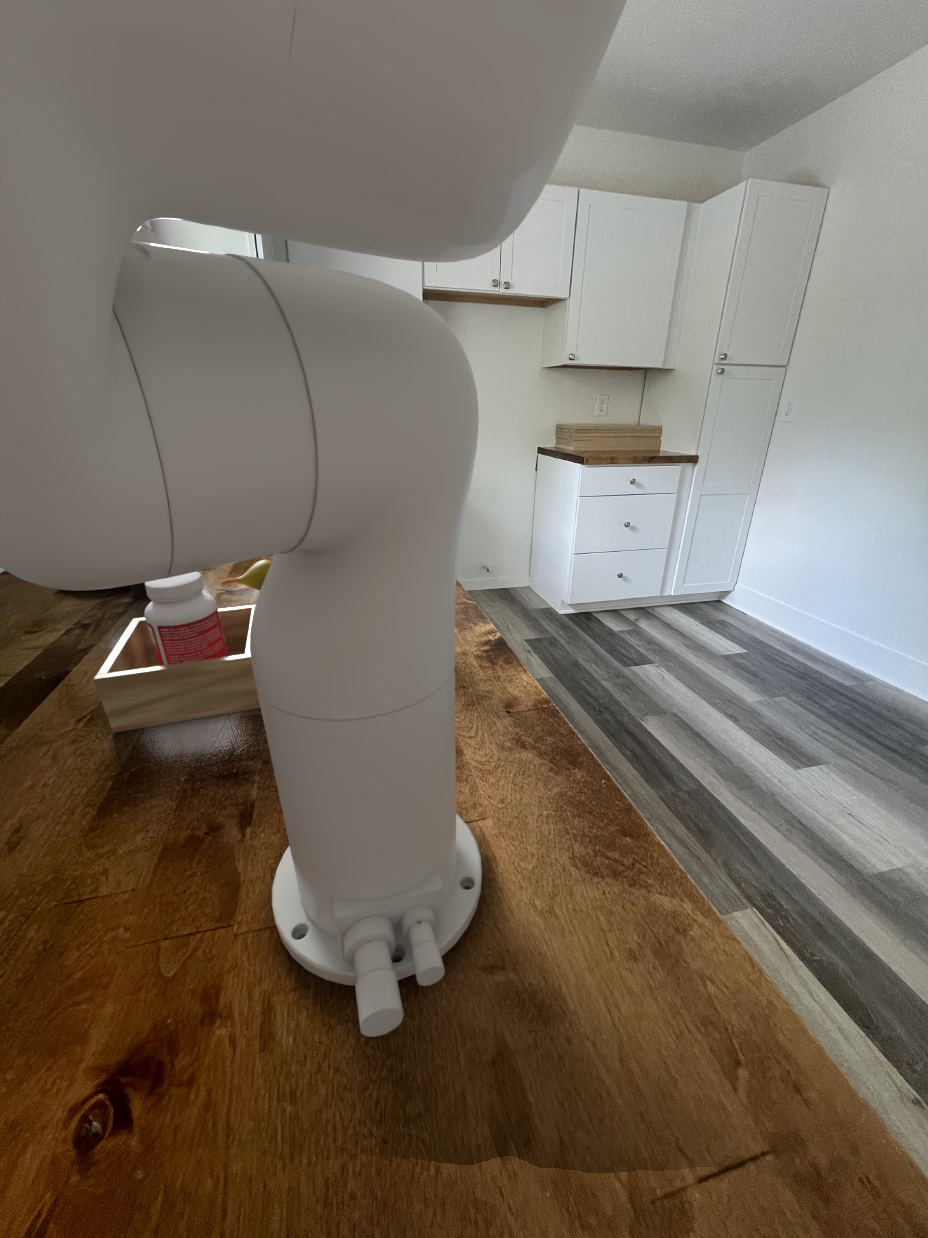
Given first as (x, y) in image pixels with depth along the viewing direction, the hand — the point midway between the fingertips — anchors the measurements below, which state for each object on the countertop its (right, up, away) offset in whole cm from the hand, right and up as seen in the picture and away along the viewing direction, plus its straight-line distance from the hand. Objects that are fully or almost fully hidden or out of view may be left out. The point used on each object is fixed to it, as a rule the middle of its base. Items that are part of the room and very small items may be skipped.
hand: (154, 467), depth 42 cm
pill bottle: (-1, -19, +10) cm, 21 cm away
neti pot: (0, -10, +29) cm, 31 cm away
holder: (-1, -19, +10) cm, 22 cm away
